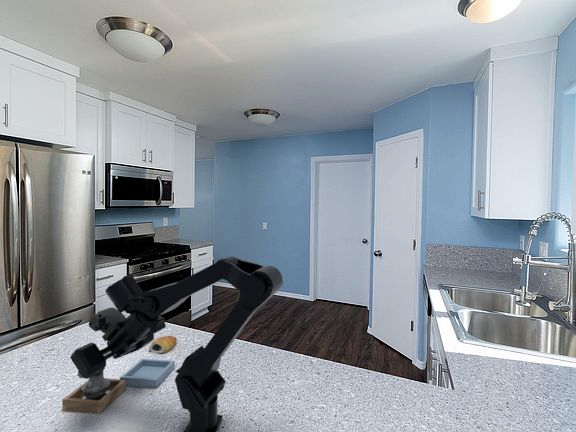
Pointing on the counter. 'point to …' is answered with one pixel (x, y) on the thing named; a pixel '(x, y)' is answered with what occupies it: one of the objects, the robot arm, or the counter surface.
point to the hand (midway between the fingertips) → (97, 366)
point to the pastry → (162, 344)
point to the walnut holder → (93, 406)
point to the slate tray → (148, 373)
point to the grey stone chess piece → (96, 387)
